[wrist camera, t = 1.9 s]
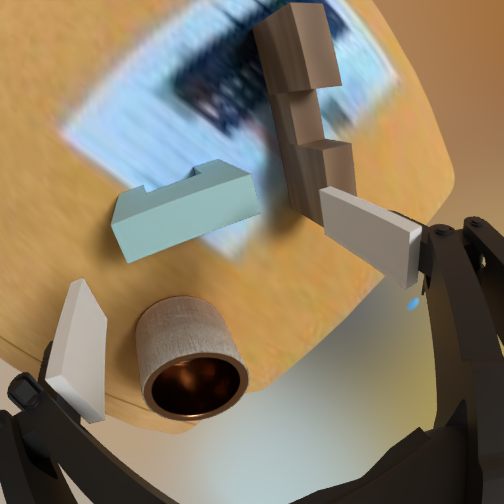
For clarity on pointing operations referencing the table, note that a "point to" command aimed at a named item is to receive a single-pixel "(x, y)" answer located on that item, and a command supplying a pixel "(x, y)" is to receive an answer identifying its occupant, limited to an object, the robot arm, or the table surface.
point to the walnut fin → (303, 103)
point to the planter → (188, 360)
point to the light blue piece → (183, 209)
